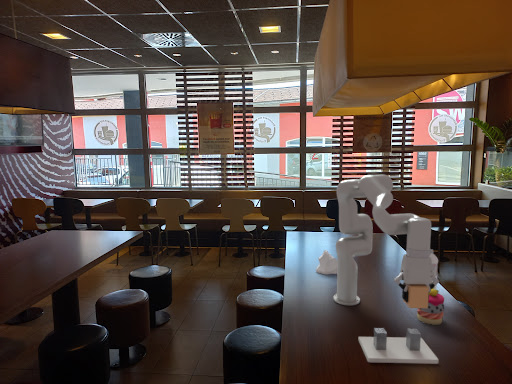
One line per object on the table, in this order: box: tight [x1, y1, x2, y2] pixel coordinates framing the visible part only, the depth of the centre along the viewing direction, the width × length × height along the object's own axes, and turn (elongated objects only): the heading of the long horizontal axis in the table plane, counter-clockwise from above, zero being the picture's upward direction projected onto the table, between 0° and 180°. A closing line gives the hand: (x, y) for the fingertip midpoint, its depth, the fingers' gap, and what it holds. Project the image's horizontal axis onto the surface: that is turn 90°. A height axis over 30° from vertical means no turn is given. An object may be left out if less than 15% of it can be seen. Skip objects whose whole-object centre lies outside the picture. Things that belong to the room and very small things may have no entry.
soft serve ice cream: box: [315, 249, 337, 275], centre depth 210 cm, size 12×15×14 cm
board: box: [358, 336, 440, 365], centre depth 129 cm, size 14×24×2 cm, turn 87°
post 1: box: [373, 327, 388, 350], centre depth 129 cm, size 4×4×8 cm
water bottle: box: [430, 253, 439, 290], centre depth 170 cm, size 7×7×25 cm
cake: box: [416, 288, 445, 326], centre depth 152 cm, size 10×11×15 cm
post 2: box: [405, 328, 422, 351], centre depth 128 cm, size 4×4×8 cm
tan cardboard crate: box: [402, 285, 429, 309], centre depth 126 cm, size 6×6×8 cm
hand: (415, 300), depth 126 cm, fingers closed on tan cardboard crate, 6 cm apart
